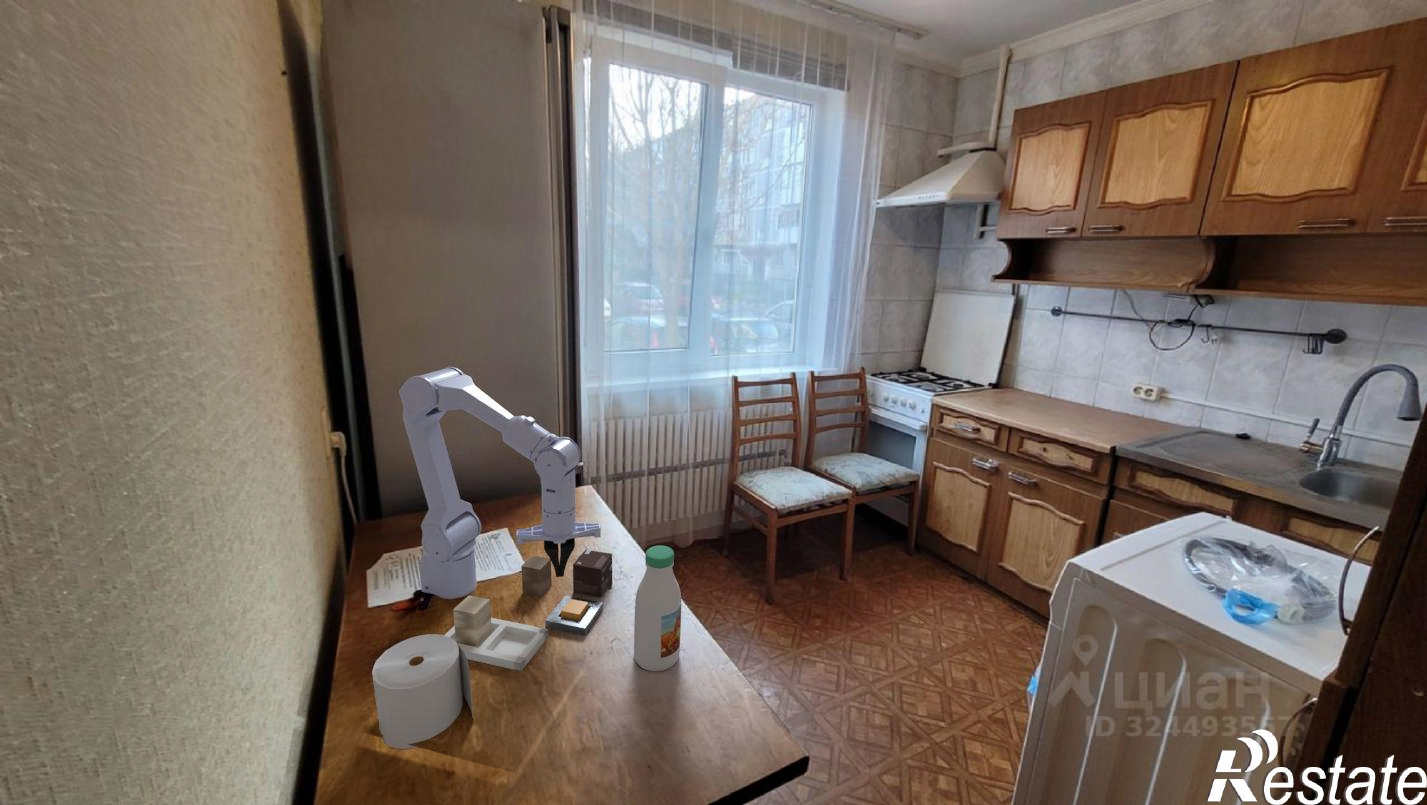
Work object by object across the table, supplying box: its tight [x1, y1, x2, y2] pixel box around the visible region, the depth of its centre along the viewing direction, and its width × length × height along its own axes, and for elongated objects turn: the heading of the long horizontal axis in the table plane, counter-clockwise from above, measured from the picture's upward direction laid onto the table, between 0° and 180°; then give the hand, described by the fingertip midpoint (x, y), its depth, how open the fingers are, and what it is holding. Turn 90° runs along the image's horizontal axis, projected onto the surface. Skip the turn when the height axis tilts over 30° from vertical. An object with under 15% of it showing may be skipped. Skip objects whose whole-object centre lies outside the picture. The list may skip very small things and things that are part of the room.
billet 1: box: [452, 594, 492, 648], centre depth 92 cm, size 4×4×7 cm
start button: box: [561, 599, 588, 621], centre depth 99 cm, size 4×4×3 cm
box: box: [572, 549, 613, 598], centre depth 108 cm, size 6×6×7 cm
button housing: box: [544, 595, 604, 637], centre depth 99 cm, size 8×8×2 cm
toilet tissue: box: [371, 633, 474, 750], centre depth 77 cm, size 11×12×10 cm
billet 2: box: [520, 555, 552, 598], centre depth 107 cm, size 4×4×7 cm
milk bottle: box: [633, 545, 682, 672], centre depth 90 cm, size 8×8×20 cm
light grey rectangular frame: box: [444, 617, 549, 672], centre depth 92 cm, size 16×8×2 cm, turn 78°
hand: (559, 573), depth 100 cm, fingers closed
